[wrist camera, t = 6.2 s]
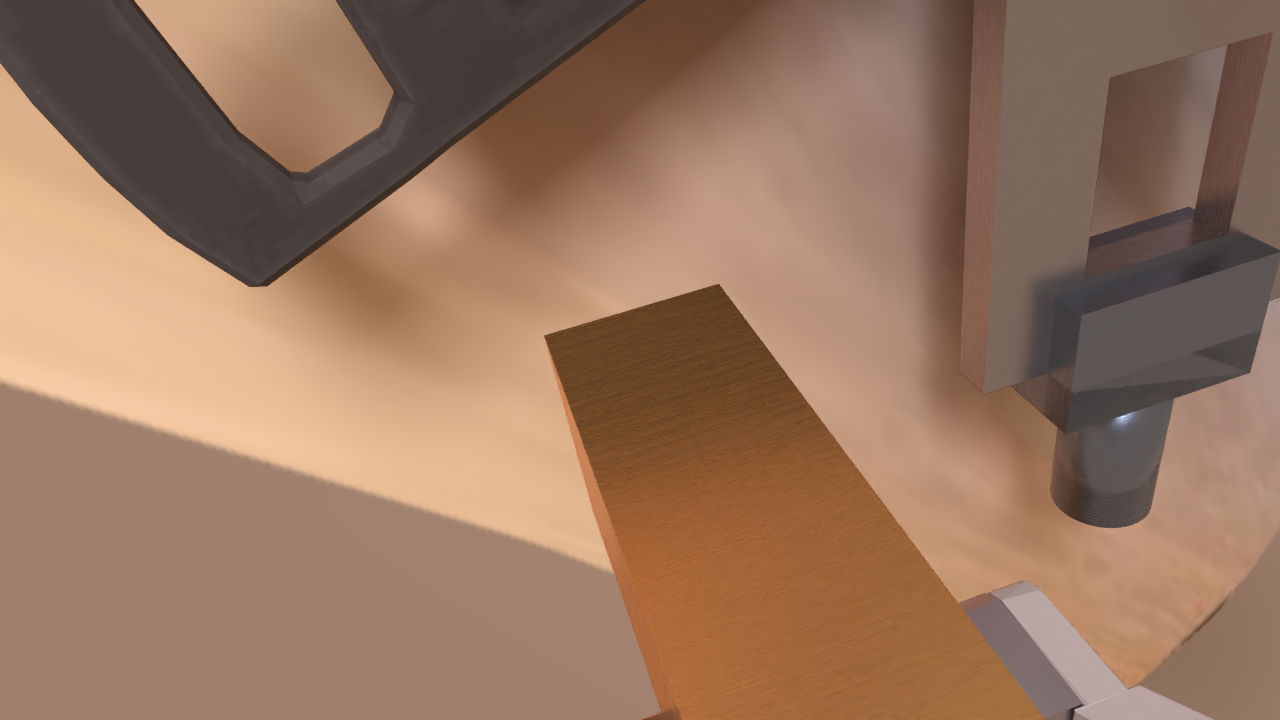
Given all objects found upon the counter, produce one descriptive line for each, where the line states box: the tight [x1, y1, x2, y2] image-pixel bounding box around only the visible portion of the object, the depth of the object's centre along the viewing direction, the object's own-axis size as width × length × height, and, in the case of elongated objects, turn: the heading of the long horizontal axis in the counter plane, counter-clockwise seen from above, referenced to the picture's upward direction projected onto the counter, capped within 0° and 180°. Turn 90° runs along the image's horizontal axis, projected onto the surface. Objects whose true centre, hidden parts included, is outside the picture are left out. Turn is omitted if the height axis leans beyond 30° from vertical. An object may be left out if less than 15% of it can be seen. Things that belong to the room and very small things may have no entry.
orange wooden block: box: [544, 284, 1045, 720], centre depth 11 cm, size 4×3×12 cm
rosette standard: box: [960, 0, 1280, 528], centre depth 20 cm, size 23×10×18 cm, turn 10°
